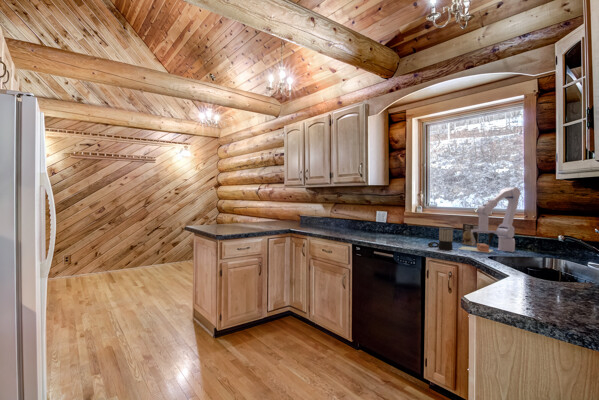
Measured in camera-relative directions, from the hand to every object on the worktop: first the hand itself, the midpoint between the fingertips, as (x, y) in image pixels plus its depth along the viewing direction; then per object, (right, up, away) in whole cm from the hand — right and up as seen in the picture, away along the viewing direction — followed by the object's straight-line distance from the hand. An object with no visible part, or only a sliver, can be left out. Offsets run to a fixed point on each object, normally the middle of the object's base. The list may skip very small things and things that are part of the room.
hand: (482, 243), depth 207 cm
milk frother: (-26, -5, +8) cm, 27 cm away
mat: (-3, -5, +4) cm, 7 cm away
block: (0, -5, 0) cm, 5 cm away
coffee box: (+5, -5, +25) cm, 26 cm away
